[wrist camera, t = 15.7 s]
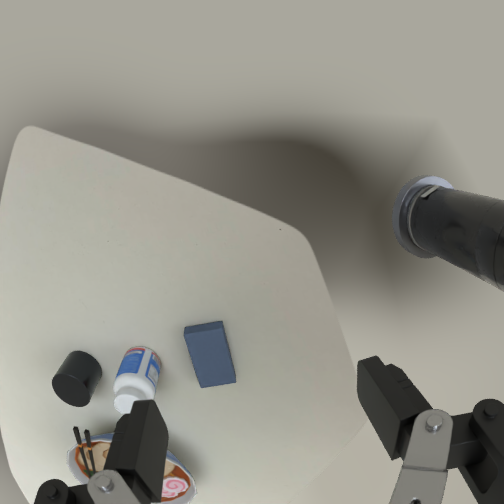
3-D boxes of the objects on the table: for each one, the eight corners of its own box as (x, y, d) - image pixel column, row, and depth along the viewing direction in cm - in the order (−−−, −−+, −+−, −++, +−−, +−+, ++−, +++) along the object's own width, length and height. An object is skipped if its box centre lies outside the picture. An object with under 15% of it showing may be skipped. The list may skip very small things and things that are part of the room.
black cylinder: (101, 356, 41) (88, 380, 35) (102, 386, 43) (91, 411, 37) (65, 346, 40) (49, 368, 35) (68, 377, 42) (54, 400, 36)
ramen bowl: (191, 493, 52) (190, 523, 44) (85, 470, 48) (76, 499, 41) (206, 419, 46) (206, 457, 38) (69, 389, 42) (52, 421, 35)
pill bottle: (120, 366, 42) (102, 410, 32) (131, 339, 41) (112, 382, 31) (154, 381, 43) (143, 427, 34) (167, 355, 42) (157, 401, 33)
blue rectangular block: (184, 326, 41) (183, 334, 39) (222, 320, 41) (222, 327, 39) (201, 379, 44) (200, 388, 42) (235, 374, 44) (236, 382, 42)
